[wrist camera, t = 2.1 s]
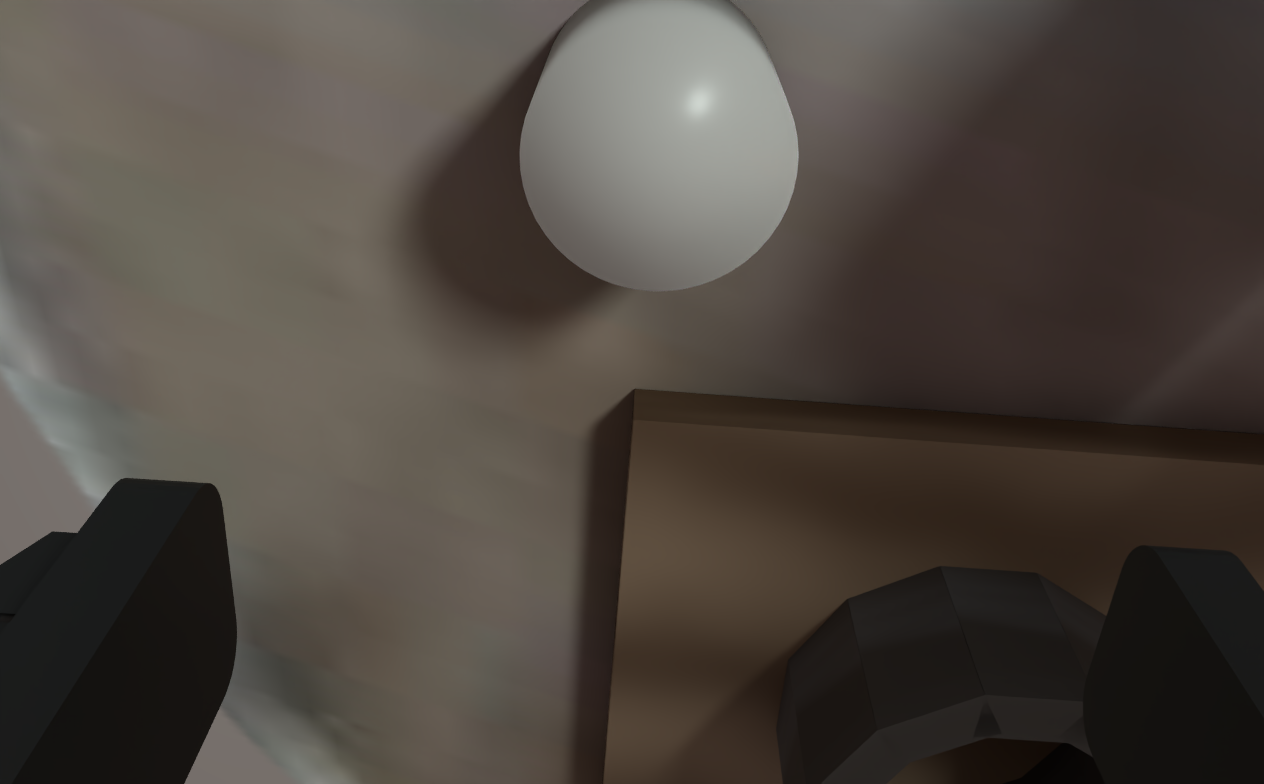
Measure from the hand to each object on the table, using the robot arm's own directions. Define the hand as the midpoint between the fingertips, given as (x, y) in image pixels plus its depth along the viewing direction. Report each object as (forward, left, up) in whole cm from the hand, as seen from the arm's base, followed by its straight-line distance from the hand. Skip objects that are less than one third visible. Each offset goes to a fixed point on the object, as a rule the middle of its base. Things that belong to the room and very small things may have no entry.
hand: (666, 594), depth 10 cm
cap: (0, 0, -17) cm, 17 cm away
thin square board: (+15, +9, -16) cm, 24 cm away
